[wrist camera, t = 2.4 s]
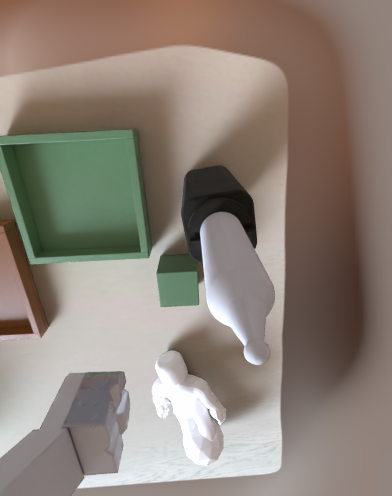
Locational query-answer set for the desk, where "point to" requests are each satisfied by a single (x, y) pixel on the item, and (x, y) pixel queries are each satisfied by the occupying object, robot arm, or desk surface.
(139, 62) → the desk surface
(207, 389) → the figure
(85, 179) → the green tray
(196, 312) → the desk surface
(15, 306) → the wood tray
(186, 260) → the green block
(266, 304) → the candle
